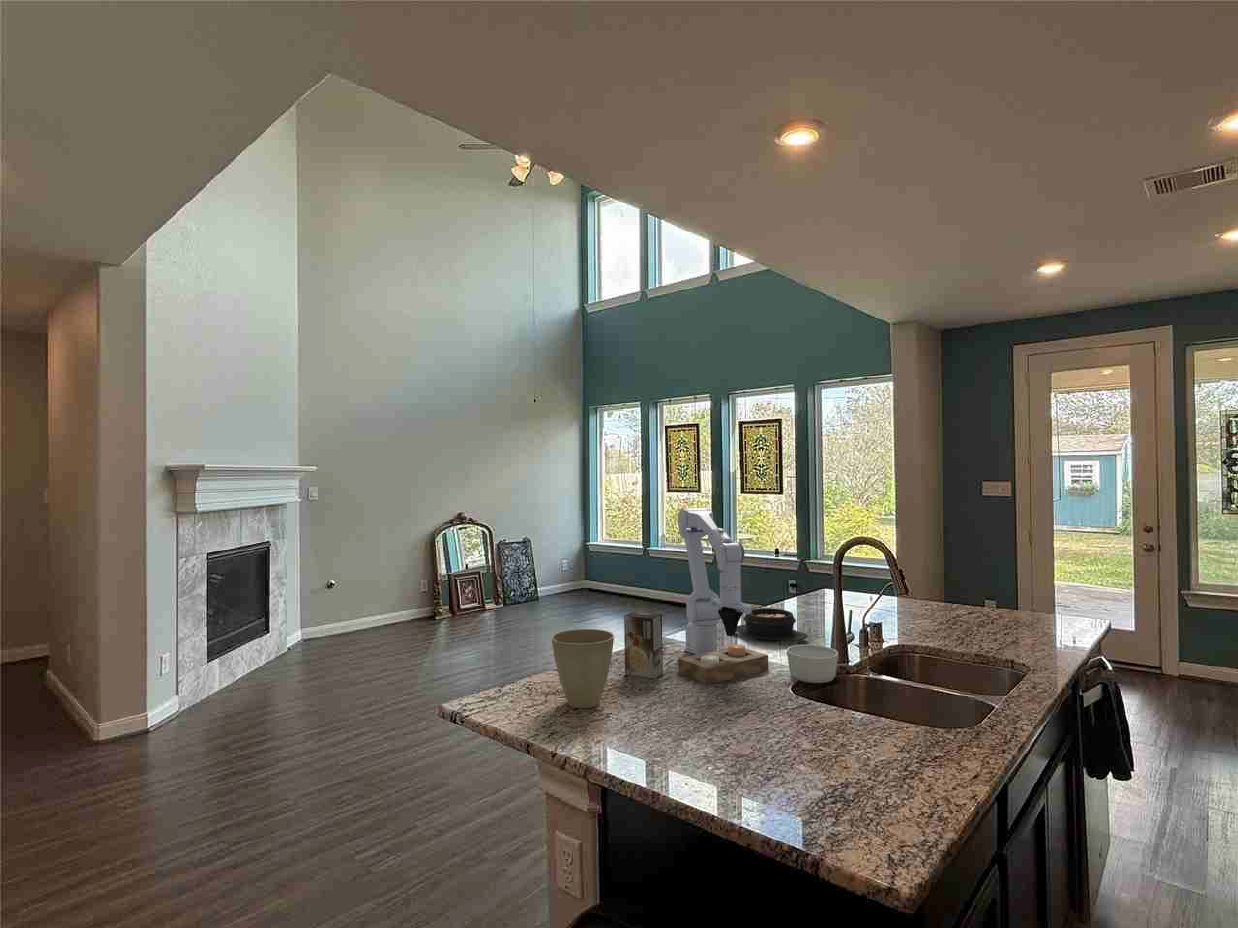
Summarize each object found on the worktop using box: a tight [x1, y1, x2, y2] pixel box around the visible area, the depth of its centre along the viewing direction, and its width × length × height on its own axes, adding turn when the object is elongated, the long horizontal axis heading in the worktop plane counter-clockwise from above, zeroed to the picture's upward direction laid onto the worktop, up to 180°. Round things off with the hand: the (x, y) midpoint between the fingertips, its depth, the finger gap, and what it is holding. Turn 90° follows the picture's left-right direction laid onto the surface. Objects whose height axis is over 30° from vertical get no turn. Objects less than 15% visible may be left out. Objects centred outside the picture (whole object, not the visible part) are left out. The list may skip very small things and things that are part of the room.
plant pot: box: [550, 628, 615, 709], centre depth 155 cm, size 15×15×16 cm
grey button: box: [701, 655, 719, 664], centre depth 176 cm, size 5×5×4 cm
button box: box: [677, 647, 769, 685], centre depth 178 cm, size 12×22×4 cm, turn 124°
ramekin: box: [786, 644, 839, 684], centre depth 173 cm, size 13×13×7 cm
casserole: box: [736, 607, 808, 643], centre depth 214 cm, size 25×19×8 cm
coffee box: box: [623, 610, 664, 680], centre depth 177 cm, size 9×6×16 cm
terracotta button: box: [727, 643, 747, 658], centre depth 181 cm, size 5×5×4 cm
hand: (730, 635), depth 180 cm, fingers closed
